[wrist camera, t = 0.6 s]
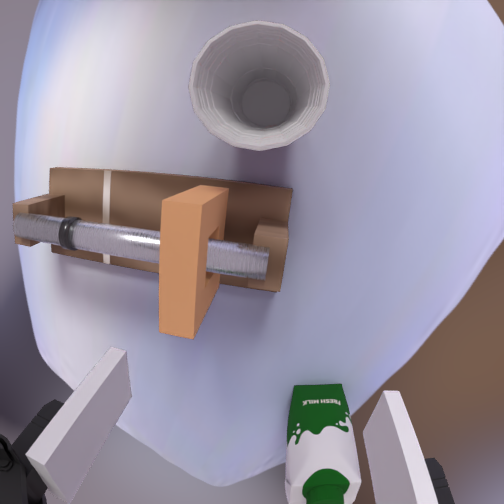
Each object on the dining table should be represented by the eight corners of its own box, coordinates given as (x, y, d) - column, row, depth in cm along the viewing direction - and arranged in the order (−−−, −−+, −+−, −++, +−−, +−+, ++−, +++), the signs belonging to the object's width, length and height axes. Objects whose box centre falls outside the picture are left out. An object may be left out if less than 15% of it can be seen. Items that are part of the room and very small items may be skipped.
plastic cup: (241, 167, 35) (220, 173, 24) (203, 84, 32) (167, 55, 21) (331, 131, 33) (354, 120, 21) (291, 48, 30) (293, 2, 19)
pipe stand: (56, 167, 37) (12, 174, 28) (292, 188, 35) (294, 199, 27) (57, 249, 41) (18, 269, 32) (276, 287, 39) (274, 324, 30)
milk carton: (348, 378, 42) (370, 493, 23) (341, 419, 45) (354, 524, 26) (287, 380, 43) (283, 499, 24) (287, 421, 46) (282, 528, 27)
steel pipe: (29, 207, 31) (10, 213, 28) (271, 239, 30) (269, 250, 26) (30, 235, 32) (12, 243, 29) (266, 274, 31) (263, 289, 27)
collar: (200, 184, 32) (162, 200, 22) (228, 188, 32) (202, 204, 22) (193, 282, 36) (159, 332, 25) (218, 286, 36) (193, 339, 25)
